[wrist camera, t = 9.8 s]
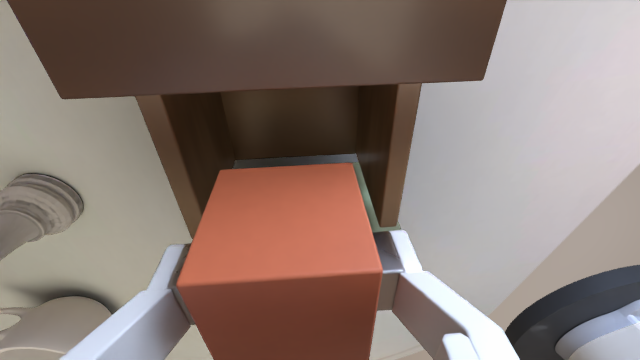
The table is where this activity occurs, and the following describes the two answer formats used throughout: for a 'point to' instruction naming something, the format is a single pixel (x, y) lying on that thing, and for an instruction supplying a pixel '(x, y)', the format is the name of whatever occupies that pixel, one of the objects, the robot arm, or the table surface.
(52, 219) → the chess piece
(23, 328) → the teacup
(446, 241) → the table surface
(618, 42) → the table surface
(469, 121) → the table surface
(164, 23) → the cabinet
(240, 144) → the drawer
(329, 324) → the block
